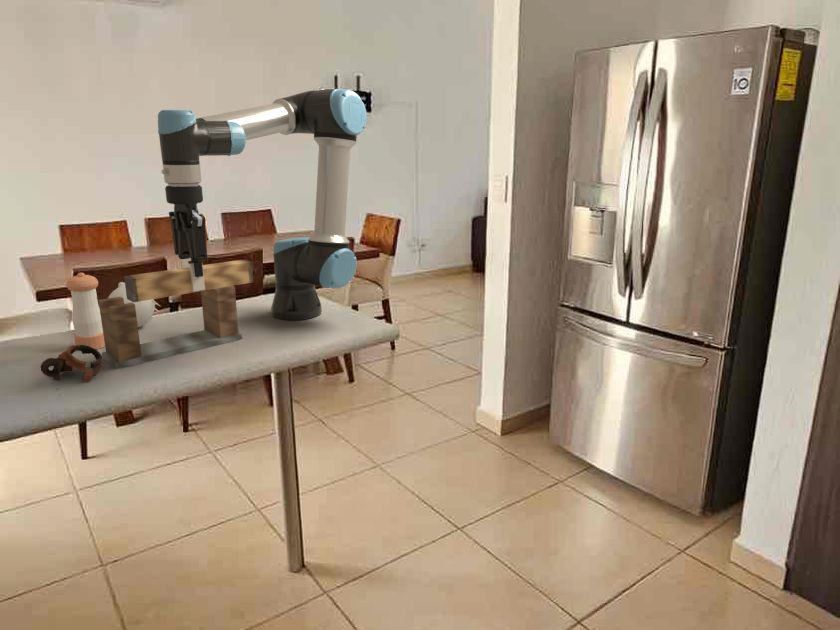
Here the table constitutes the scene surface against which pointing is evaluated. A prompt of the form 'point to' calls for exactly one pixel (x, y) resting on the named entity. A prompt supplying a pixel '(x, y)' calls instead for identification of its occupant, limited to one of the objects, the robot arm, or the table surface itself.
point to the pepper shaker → (86, 311)
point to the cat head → (137, 305)
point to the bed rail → (186, 280)
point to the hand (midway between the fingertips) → (194, 288)
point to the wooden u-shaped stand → (129, 351)
